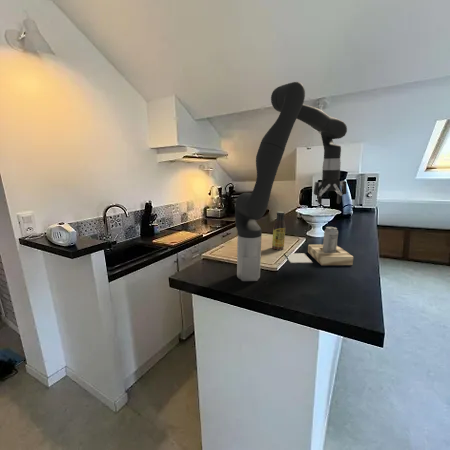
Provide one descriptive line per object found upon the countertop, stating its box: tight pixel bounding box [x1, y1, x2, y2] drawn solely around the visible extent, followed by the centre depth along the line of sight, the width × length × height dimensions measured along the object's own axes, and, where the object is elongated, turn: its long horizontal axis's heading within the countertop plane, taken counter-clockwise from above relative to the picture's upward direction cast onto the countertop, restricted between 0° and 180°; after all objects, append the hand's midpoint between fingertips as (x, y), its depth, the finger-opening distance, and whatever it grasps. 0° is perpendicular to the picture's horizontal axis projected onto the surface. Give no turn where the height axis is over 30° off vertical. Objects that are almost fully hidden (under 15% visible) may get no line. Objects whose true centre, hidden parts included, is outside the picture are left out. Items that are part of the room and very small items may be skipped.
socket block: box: [307, 244, 354, 266], centre depth 124 cm, size 18×14×4 cm
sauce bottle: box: [271, 211, 286, 250], centre depth 136 cm, size 6×6×20 cm
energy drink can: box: [322, 226, 339, 253], centre depth 123 cm, size 6×6×15 cm
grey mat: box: [287, 252, 314, 264], centre depth 124 cm, size 12×10×1 cm
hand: (329, 203), depth 123 cm, fingers open, 8 cm apart
